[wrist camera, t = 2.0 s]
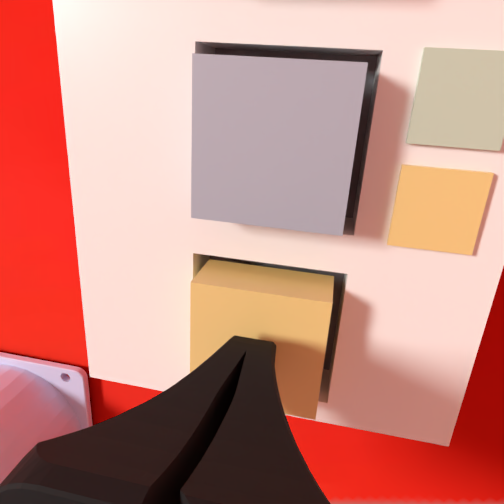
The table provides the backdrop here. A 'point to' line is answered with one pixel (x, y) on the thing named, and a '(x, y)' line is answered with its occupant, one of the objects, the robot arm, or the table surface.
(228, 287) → the key ochre
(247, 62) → the key slate
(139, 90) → the keyguard panel
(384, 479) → the table surface
